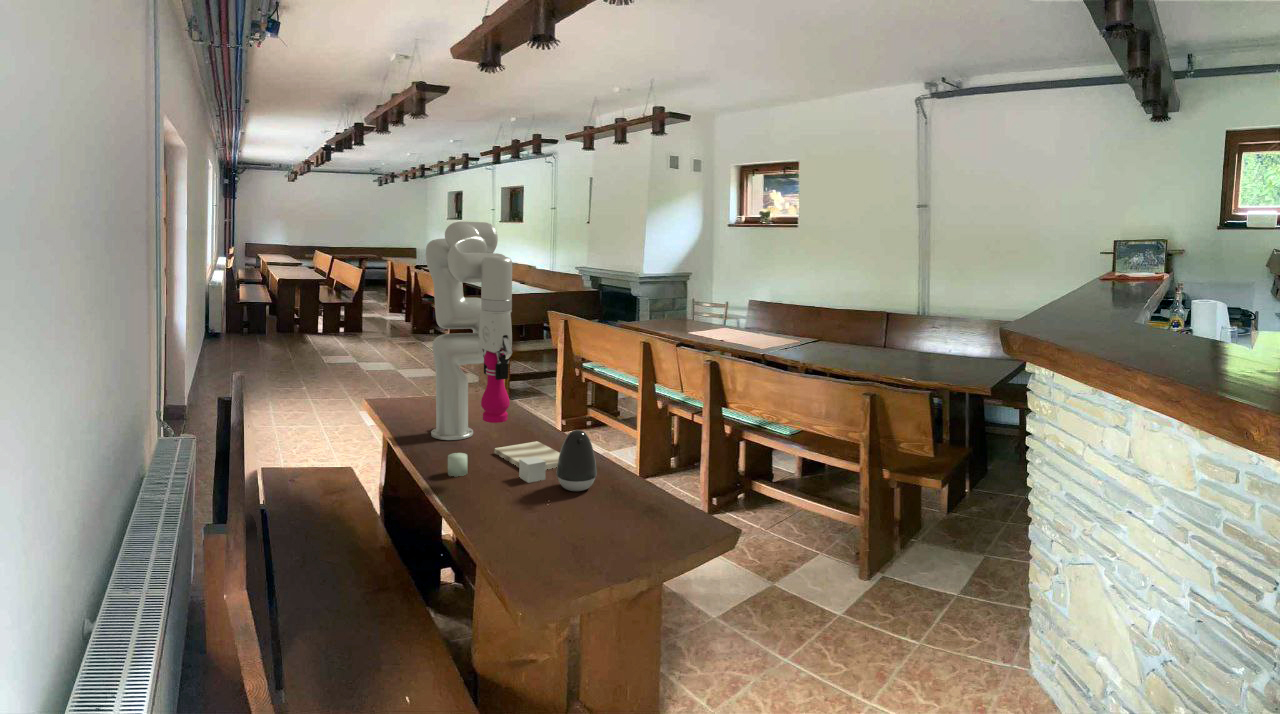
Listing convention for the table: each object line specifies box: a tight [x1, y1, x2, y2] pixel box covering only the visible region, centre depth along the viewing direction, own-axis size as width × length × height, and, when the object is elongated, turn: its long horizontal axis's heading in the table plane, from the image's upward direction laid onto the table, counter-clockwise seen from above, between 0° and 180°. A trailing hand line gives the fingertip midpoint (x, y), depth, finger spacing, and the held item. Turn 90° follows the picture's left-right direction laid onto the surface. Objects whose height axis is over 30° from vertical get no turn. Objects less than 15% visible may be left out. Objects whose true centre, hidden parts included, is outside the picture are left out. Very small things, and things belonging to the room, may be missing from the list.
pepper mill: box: [480, 349, 510, 424], centre depth 188 cm, size 7×7×20 cm
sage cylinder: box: [447, 452, 468, 478], centre depth 194 cm, size 5×5×5 cm
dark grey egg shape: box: [555, 429, 598, 492], centre depth 186 cm, size 10×10×15 cm
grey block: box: [518, 457, 547, 484], centre depth 193 cm, size 5×5×5 cm
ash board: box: [494, 440, 560, 471], centre depth 209 cm, size 20×14×2 cm
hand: (495, 375), depth 188 cm, fingers closed on pepper mill, 5 cm apart
